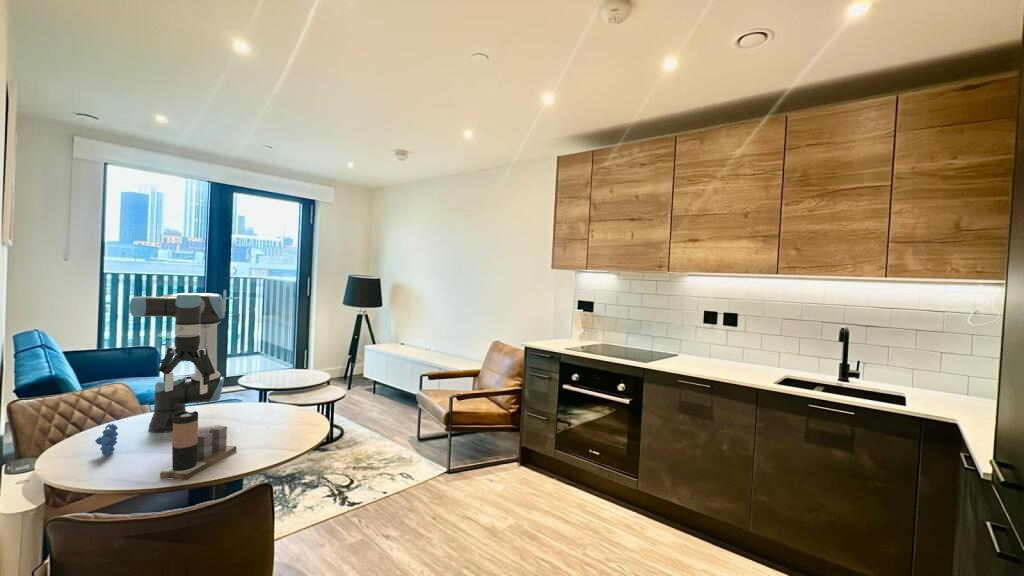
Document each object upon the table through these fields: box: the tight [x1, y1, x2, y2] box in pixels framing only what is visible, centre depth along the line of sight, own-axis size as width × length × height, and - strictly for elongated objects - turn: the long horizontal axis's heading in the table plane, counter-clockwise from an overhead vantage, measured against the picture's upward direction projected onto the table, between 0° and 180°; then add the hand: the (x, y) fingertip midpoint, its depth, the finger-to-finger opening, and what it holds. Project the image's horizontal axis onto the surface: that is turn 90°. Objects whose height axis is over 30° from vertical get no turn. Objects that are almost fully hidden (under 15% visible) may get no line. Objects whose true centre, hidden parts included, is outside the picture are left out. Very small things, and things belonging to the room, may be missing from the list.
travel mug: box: [171, 410, 199, 471], centre depth 162 cm, size 8×8×20 cm
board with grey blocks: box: [159, 425, 237, 481], centre depth 170 cm, size 10×26×11 cm, turn 176°
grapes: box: [94, 422, 119, 457], centre depth 174 cm, size 12×7×12 cm, turn 29°
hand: (186, 392), depth 161 cm, fingers open, 13 cm apart
